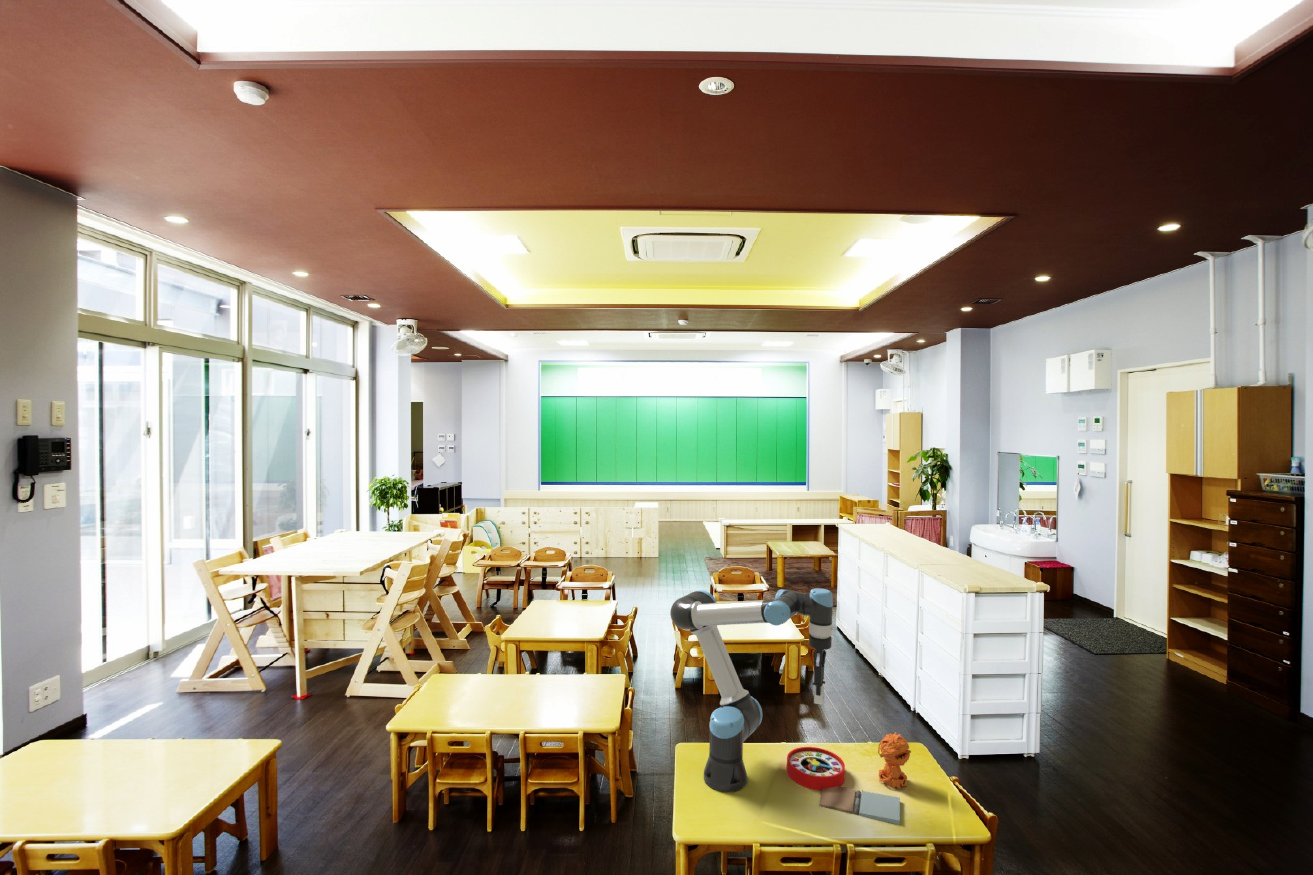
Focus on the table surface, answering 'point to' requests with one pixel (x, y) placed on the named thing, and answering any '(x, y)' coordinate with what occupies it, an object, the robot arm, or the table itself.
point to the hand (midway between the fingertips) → (818, 703)
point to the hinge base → (840, 799)
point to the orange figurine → (894, 760)
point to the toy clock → (815, 768)
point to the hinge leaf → (879, 807)
